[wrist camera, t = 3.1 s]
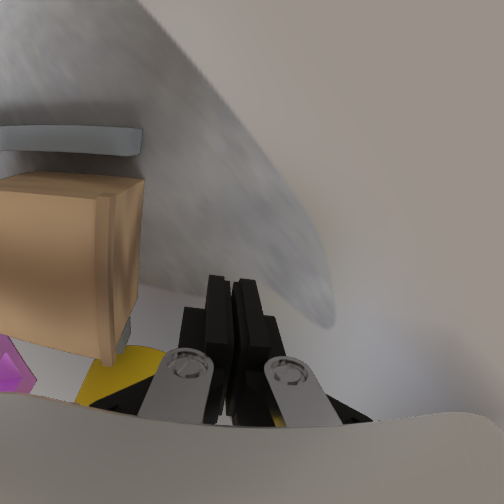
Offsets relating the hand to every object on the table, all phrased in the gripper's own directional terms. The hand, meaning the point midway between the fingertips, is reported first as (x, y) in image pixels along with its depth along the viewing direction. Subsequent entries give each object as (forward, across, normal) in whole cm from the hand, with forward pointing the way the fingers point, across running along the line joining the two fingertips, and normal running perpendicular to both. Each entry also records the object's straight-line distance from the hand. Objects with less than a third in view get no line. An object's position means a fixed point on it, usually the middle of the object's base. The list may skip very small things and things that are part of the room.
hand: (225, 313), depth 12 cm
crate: (+9, +9, +1) cm, 13 cm away
